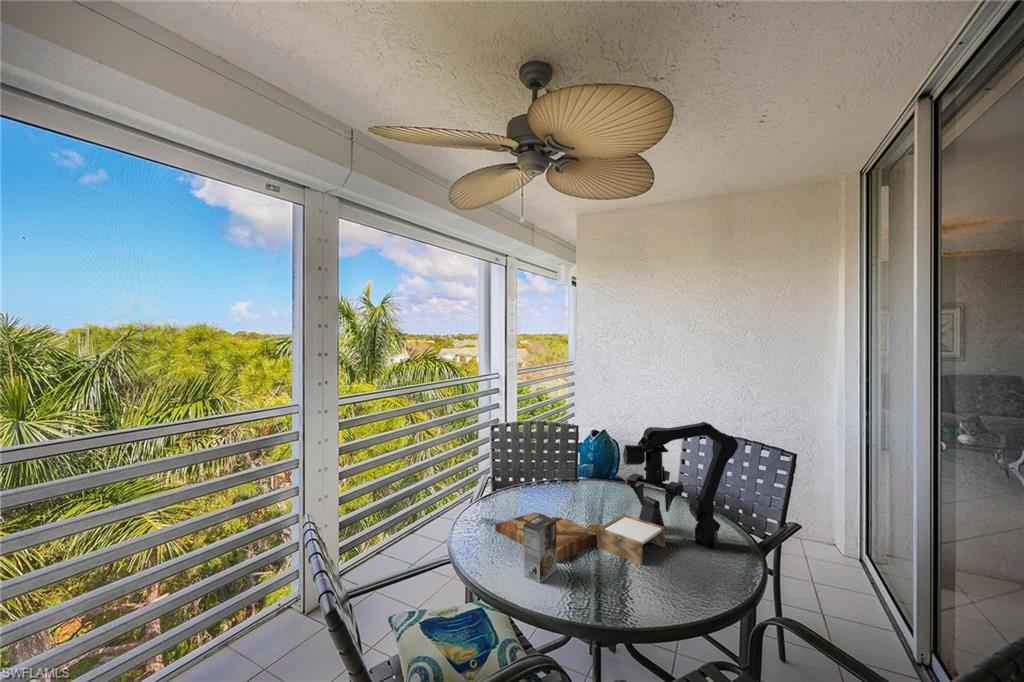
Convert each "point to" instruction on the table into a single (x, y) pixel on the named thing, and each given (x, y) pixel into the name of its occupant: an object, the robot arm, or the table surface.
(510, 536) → the decorative slab
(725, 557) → the table surface
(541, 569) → the coffee box
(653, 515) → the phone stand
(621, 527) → the trapdoor
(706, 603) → the table surface
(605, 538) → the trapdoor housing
